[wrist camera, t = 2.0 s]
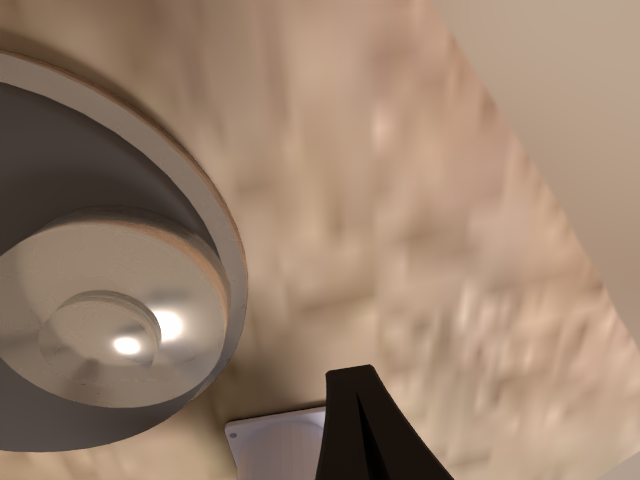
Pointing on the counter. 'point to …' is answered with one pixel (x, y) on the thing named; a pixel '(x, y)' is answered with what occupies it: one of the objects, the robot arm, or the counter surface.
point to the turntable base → (162, 153)
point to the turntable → (50, 203)
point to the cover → (113, 307)
